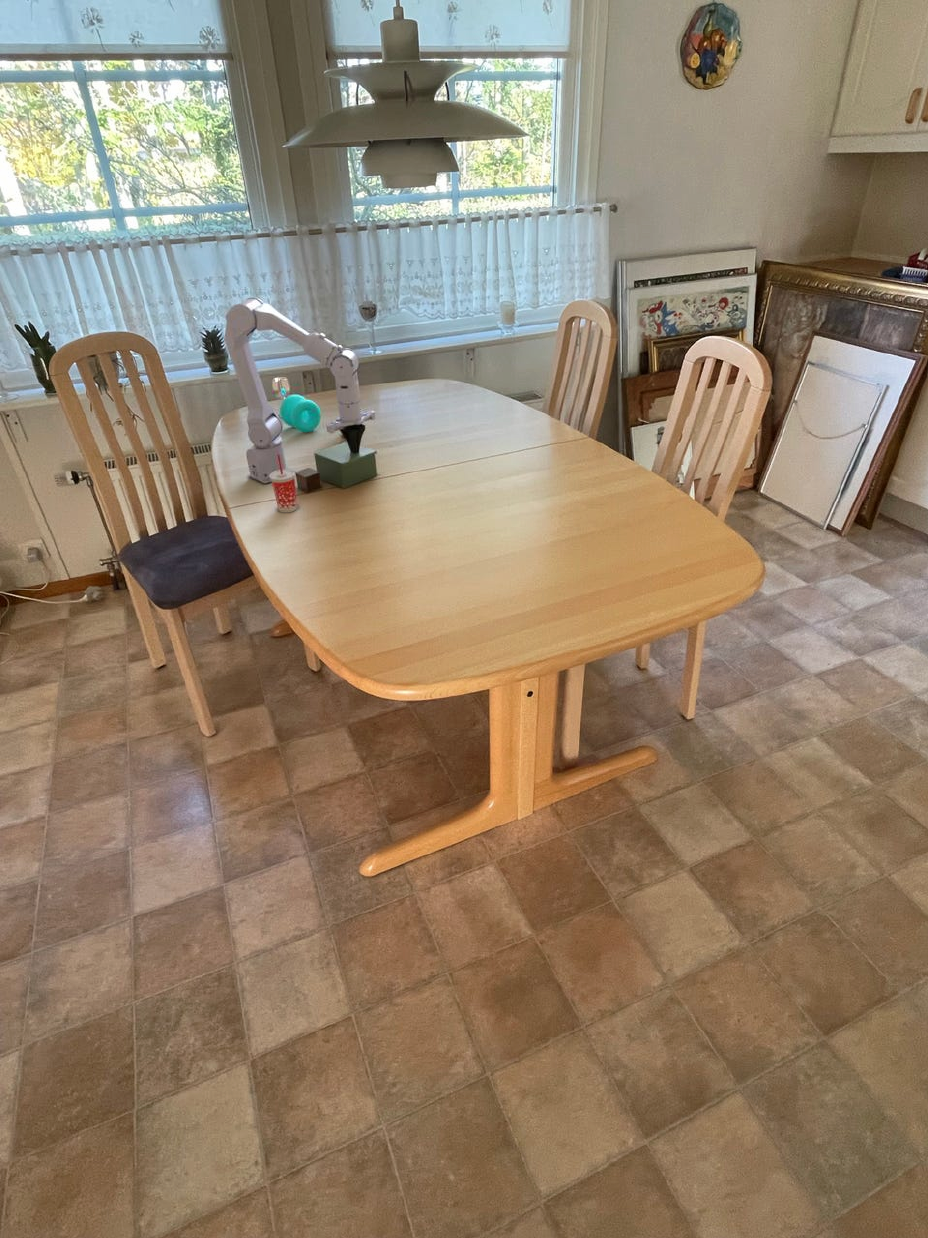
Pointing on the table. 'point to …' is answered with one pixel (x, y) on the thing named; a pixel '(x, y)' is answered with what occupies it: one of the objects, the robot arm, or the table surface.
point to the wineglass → (281, 388)
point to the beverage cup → (284, 488)
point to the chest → (346, 471)
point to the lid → (344, 454)
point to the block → (308, 480)
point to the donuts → (300, 413)
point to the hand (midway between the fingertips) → (354, 452)
